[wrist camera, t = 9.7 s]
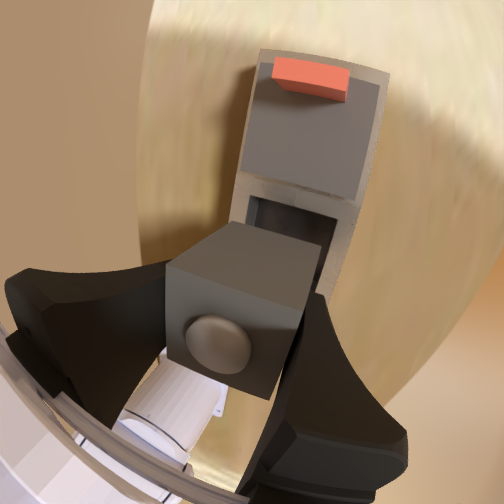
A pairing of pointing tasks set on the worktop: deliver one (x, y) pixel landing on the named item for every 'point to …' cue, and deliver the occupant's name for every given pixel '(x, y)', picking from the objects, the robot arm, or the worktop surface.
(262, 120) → the shutter
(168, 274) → the grey block
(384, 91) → the socket
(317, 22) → the worktop surface
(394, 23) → the worktop surface
